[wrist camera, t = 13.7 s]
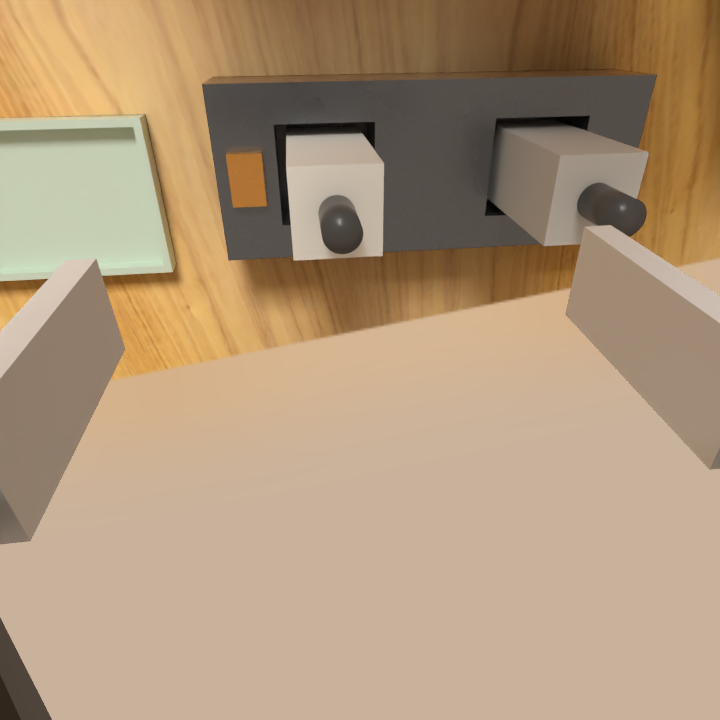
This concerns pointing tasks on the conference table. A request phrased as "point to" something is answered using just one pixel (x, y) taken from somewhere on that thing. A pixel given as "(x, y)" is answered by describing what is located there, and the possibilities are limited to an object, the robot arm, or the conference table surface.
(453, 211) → the power strip
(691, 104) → the conference table surface
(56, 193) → the tray
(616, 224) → the twin plug
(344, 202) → the plug
